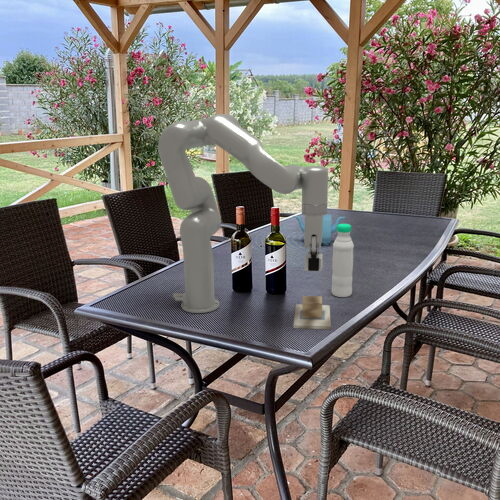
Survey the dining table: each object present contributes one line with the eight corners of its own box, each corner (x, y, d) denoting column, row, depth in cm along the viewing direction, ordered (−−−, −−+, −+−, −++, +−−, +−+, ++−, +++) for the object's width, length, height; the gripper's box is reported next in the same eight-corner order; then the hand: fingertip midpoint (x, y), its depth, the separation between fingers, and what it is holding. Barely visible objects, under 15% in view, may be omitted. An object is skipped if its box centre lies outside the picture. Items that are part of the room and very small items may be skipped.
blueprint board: (293, 328, 155) (293, 324, 155) (295, 307, 171) (295, 304, 171) (330, 329, 154) (330, 326, 154) (329, 308, 170) (329, 305, 170)
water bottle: (349, 290, 186) (352, 222, 179) (353, 297, 179) (356, 226, 172) (329, 291, 186) (331, 222, 179) (333, 298, 179) (335, 227, 172)
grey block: (304, 270, 156) (304, 257, 155) (306, 265, 161) (306, 253, 160) (321, 271, 155) (321, 258, 154) (322, 266, 160) (322, 254, 159)
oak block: (302, 318, 160) (302, 302, 158) (302, 310, 165) (302, 295, 164) (321, 318, 159) (322, 303, 158) (321, 311, 165) (321, 296, 163)
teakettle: (317, 250, 239) (318, 218, 235) (290, 241, 254) (291, 212, 250) (346, 243, 250) (347, 213, 246) (319, 235, 264) (319, 207, 260)
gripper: (302, 203, 162) (302, 259, 167) (300, 214, 146) (300, 276, 150) (326, 203, 161) (325, 259, 166) (327, 214, 145) (326, 276, 150)
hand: (313, 266), depth 158 cm, fingers closed on grey block, 5 cm apart
